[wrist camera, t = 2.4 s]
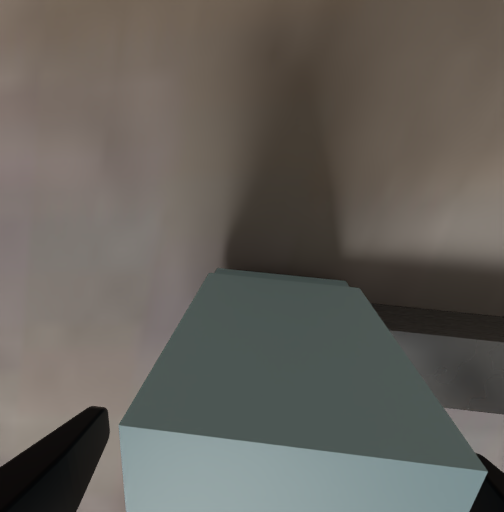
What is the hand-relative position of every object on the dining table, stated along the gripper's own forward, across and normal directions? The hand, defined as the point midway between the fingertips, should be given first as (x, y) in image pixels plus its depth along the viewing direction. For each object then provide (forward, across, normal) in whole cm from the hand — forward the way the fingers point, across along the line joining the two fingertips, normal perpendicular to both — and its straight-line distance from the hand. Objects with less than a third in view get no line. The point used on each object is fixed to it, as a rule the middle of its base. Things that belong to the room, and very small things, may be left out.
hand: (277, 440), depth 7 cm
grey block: (+5, 0, 0) cm, 5 cm away
